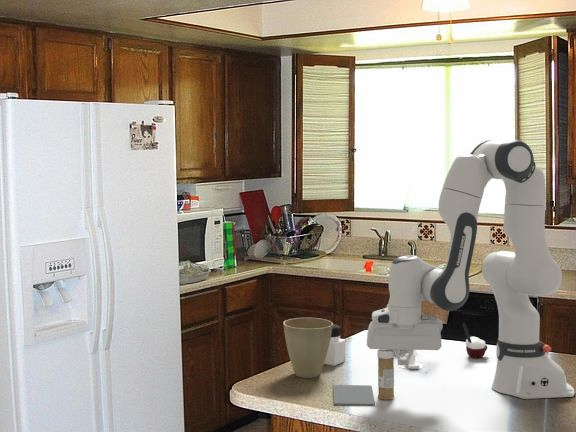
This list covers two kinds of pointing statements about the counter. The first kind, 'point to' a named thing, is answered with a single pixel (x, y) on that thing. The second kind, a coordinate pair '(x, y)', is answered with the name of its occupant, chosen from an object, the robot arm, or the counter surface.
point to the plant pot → (307, 344)
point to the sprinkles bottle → (385, 374)
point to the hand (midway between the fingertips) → (403, 365)
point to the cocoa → (474, 345)
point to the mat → (353, 395)
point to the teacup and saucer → (412, 363)
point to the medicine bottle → (335, 348)
